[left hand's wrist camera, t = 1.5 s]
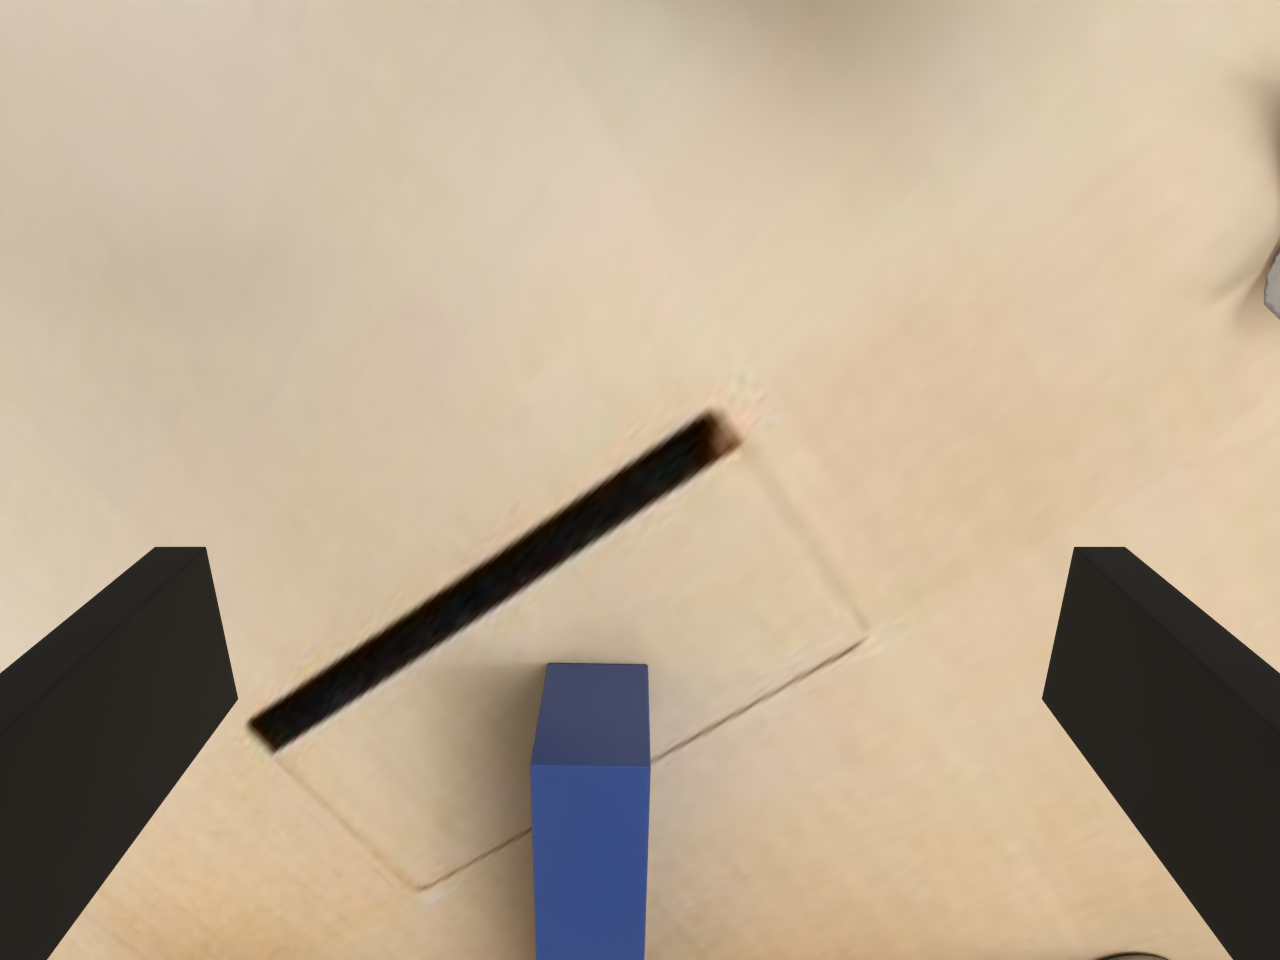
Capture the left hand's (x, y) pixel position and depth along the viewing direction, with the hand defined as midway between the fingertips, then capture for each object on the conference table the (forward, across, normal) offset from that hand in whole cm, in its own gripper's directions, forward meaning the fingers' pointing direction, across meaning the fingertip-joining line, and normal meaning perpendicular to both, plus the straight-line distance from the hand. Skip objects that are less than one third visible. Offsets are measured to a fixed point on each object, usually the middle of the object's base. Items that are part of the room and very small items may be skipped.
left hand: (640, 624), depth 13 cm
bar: (+28, -3, -32) cm, 43 cm away
